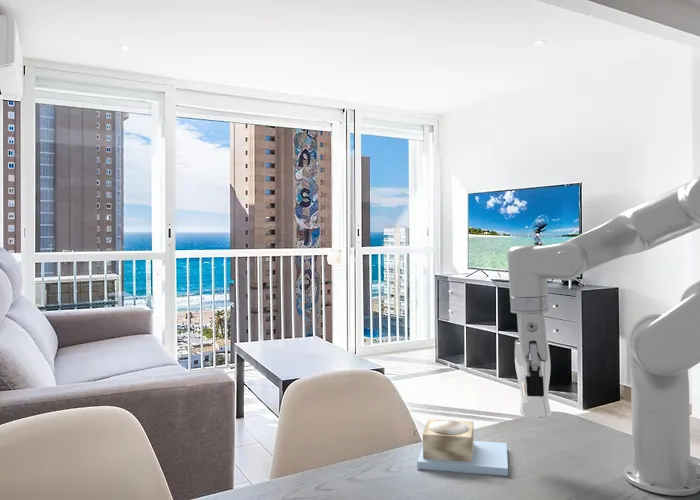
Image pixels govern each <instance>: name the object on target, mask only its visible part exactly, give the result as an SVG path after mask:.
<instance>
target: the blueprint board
mask: <svg viewBox="0 0 700 500" xmlns="http://www.w3.org/2000/svg"><path fill="white" fill-rule="evenodd" d="M416 469H417V470H429V471H442V472H453V473H454V472H455V473H466V474H468V473H469V474H479V475H489V476H503V477H508V476H509V462H508V448H507V442H497V441H495V442H494V441H482V440H474V448H473V458H472V462H468V461H455V460H441V459H428V458H423V445H422V447H421V450H420V452H419V455H418V458H417V460H416Z"/></svg>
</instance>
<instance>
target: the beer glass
mask: <svg viewBox="0 0 700 500" xmlns="http://www.w3.org/2000/svg"><path fill="white" fill-rule="evenodd" d="M529 351H530V345H529ZM547 353H548V361H547V362H545V360H542V359H541V357H540V359H541V370H542V376H543V387H544V396H528V395H527V386H526V376H527V363H526V362H525V361H523V358H522V353H521V346H520V343H519V338H518V339H515V341H514V364H515V366H514V367H515V372H516V377H517V381H518V385H519V389H520V396H521V397H520V398H521V400H520V408H519V413H520V415H522V416H523V417H527V418H535V419H541V418H547V417H550V416H551V415H552V410H551V406H550V402H549V388H550V387H549V386H550V380H551V379H550V377H551V368H552V367H551V356H550V355H551V354H550V346H549V340H547ZM538 355H539V353H538V352H537V357H538ZM528 360H531V355H530V352H529V353H528ZM538 360H539V358H538ZM530 365H531V364H529V366H530Z"/></svg>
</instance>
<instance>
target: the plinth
mask: <svg viewBox="0 0 700 500" xmlns="http://www.w3.org/2000/svg"><path fill="white" fill-rule="evenodd" d="M474 431H475V430H474V421H468V420H448V419H431V418H428V419H427V421H426V425H425V427H424V430H423V433H422V446H423V458H428V459H441V460H455V461H468V462H472V458H473V448H474V441H475V440H474V438H475V435H474Z"/></svg>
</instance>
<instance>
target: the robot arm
mask: <svg viewBox="0 0 700 500" xmlns="http://www.w3.org/2000/svg"><path fill="white" fill-rule="evenodd" d="M696 230H700V175H699V176H697V177H695V178H694V179H692V180H690V181H688V182H685V183H684V184H681V185H679V186H677V187H675V188H672V189H670V190H669V191H666V192H664V193H661V194H659V195H657V196H655V197H653V198H651V199H648V200H646V201H644V202H642V203H639V204H637V205H635V206H633V207H630V208H628V209H626V210H624V211H622V212H621V213H619V214H617V215H616V216H614V217H613V218H611V219H610V220H608V221H606V222H605V223H603V224H601V225H598V226H597V227H594V228H592V229H590V230H589V231H588V230H587V231H586V232H584V233H581V234H579V235H577V236H574V237H572V238H570V239H567V240H565V241H562V242H558V243H553V244H547V245H546V244H545V245H539V244H526V245H525V244H524V245H515V246H511V247H510V248H508V250H507V267H508V268H507V269H508V270H507V271H508V284H509V287H508V288H509V302H510V313H511V314H516V318H517V319H516V320H517V332H518V335H517V336H518V339H519V343H520V346H521V353H522V358H523V361H525V362H526V363H527V376H526V386H527V395H528V396H544V387H543V376H542V370H541V359H542V360H545V362H547V361H548V353H547V341H548V340H547V331H546V330H547V329H546V320H545V313H549V312H550V309H549V308H550V307H549V306H550V305H549V292H548V291H549V290H548V287H549V286H548V279H549V280H559V281H570V280H575V279H576V278H578V277H580V276H581V275H582V274H583V273H586V272H587V271H590V270H592V269H594V268H597V267H599V266H601V265H603V264H604V265H605V264H606V263H610V262H611V261H614V260H617V259H620V258H622V257H626V256H630V255H636V254H640V253H642V252H645V251H649V250H651V249H655V248H656V247H658V246H661V245H663V244H666V243H668V242H670V241H672V240H675V239H677V238H679V237H682V236H684V235H687V234H689V233H692V232H694V231H696ZM628 337H629V338H628V339H629V340H628V346H629V362H630V363H629V364H630V383H631V385H630V388H631V399H630V400H631V435H632V436H631V439H632V444H631V445H632V463H630V464H628V465H627V466H625V467H624V469H623V475H624V478H625V480H626V481H627V482H629V483H630V484H632V485H633V486H635V487H636V488H639V489H641V490H645V491H647V492H650V493H654V494H658V495H659V494H660V495H664V496H671V497H674V496H675V497H676V496H677V497H685V496H686V497H687V496H692V495H695V494H697V493H698V492H700V462H694V461H693V460H692V459H691V434H690V433H691V429H690V426H691V425H690V421H691V420H690V382H689V381H690V379H689V370H690V369H692V368H693V367H695V366H697V365H698V364H700V280H698V281H696V282H695V283H693V284H692V285H690V286H689V287H688V288H687V289H686V290H685V291H684V292H683V294H682V296H681V298H680V302H678V303H677V304H676V305H675V306H673V307H672V308H670V309H668V310H667V311H665V313H663V314H661V313H660V314H659V313H654V314H653V313H652V314H651V313H650V314H647V315H645V316H642V317H640V318H639V319H638V320H637V321H635V322H634V324H632V327H631V329H630V332H629V336H628ZM529 345H530V351H529ZM529 352H530V355H531V360H528V353H529ZM537 352H538V353H539V355H538V357H537ZM540 357H541V359H540ZM538 358H539V360H538ZM529 364H531V365H530V366H529Z"/></svg>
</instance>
